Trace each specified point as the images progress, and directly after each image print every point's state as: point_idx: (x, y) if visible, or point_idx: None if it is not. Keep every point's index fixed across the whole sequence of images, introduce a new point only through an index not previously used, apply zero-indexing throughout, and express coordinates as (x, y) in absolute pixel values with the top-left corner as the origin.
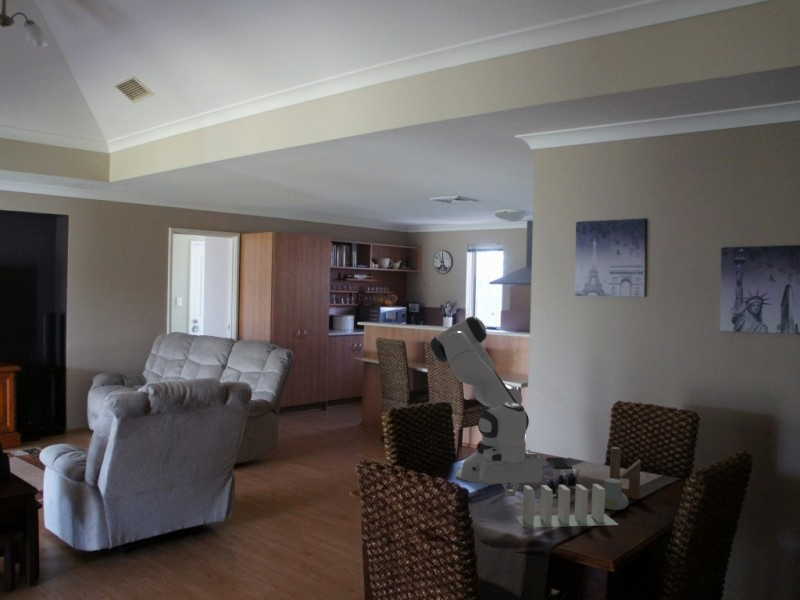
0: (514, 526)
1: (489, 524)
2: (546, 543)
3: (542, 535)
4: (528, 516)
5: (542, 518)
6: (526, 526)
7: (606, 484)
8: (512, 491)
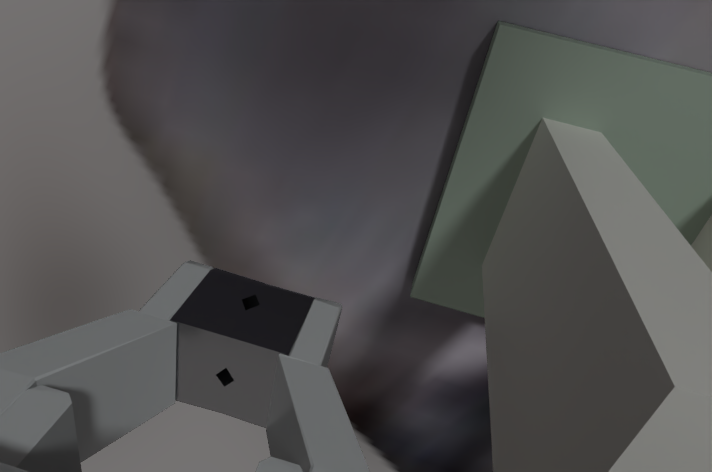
0: (387, 187)
1: (193, 73)
2: (422, 464)
3: (484, 387)
4: (485, 308)
5: (708, 241)
6: (439, 290)
7: None
8: (251, 414)
